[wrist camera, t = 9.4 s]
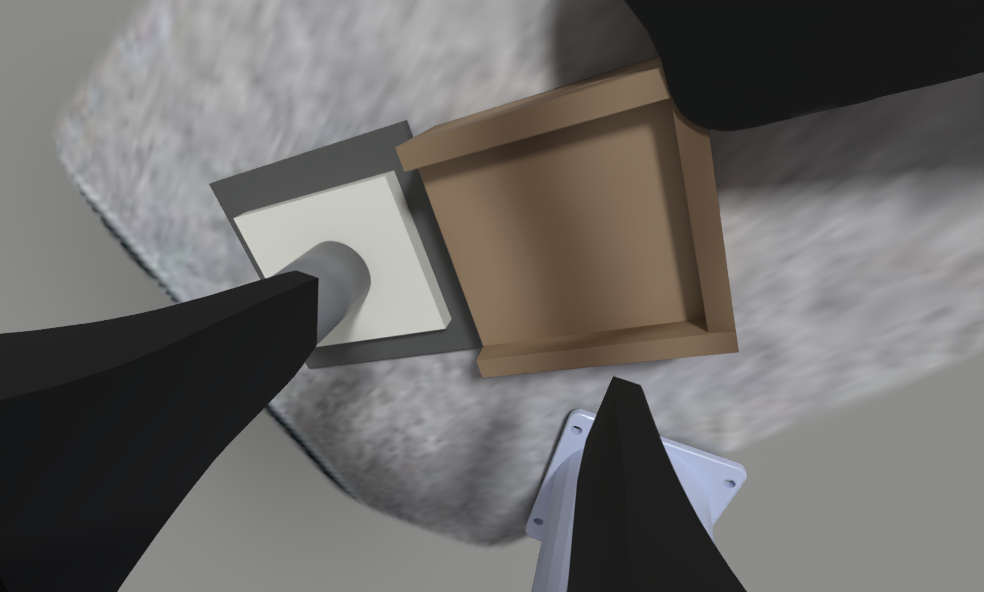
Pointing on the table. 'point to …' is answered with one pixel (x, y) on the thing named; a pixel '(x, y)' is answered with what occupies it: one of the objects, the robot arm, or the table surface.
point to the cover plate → (374, 240)
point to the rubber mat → (344, 167)
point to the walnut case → (582, 225)
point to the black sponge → (805, 53)
